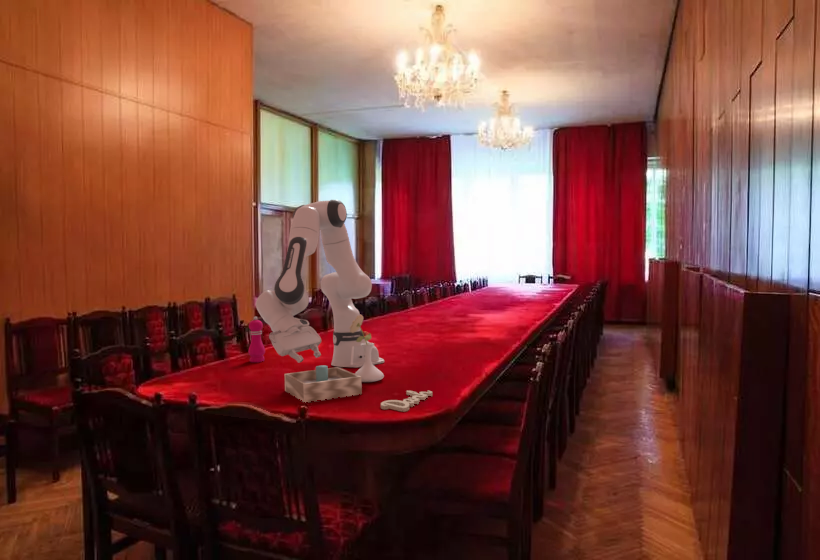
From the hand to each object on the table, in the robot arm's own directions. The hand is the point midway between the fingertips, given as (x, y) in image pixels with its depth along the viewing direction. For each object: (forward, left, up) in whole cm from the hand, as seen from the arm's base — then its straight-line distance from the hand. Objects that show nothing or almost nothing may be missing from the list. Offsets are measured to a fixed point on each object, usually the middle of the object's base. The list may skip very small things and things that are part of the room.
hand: (310, 358), depth 211 cm
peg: (-2, +5, -11) cm, 12 cm away
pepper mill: (0, -69, -11) cm, 70 cm away
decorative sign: (-20, +32, -12) cm, 40 cm away
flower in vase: (-22, -2, -11) cm, 25 cm away
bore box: (-2, +5, -11) cm, 12 cm away
